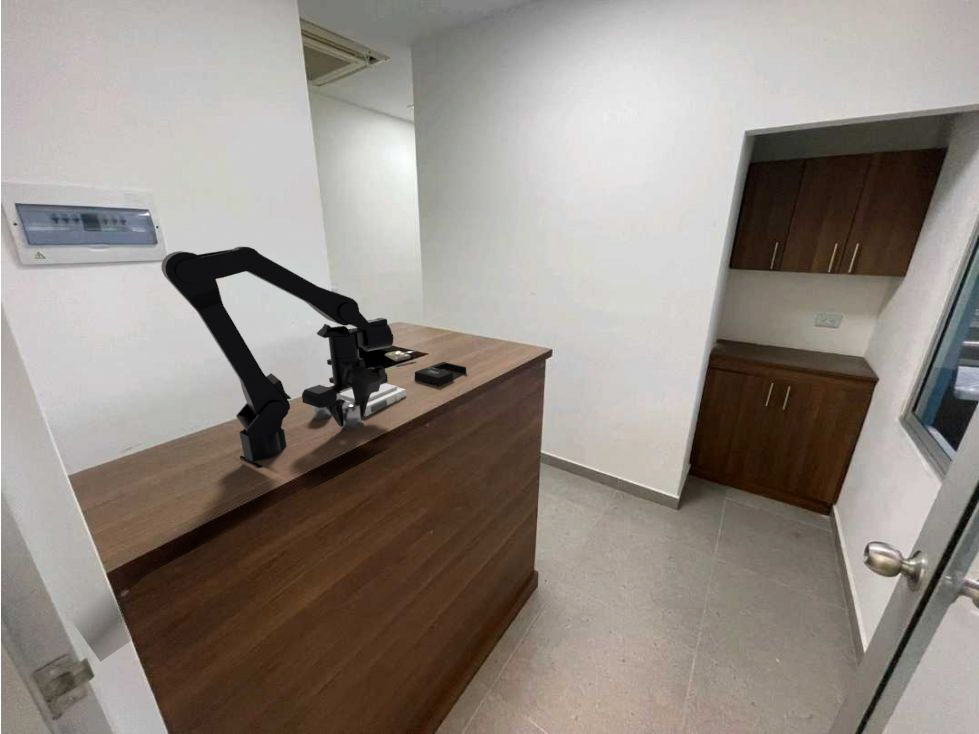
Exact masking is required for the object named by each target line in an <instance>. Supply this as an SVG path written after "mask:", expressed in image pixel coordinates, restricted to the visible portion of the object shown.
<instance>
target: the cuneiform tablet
mask: <svg viewBox="0 0 979 734" xmlns="http://www.w3.org/2000/svg"><path fill="white" fill-rule="evenodd" d="M416 352H417V351H416V350H410V351H409V350H408V351H405V352H404V351H403V352H402V351H400V350H396V351H390V352H386V353H385V354H384V356H385V357H387V358H389V359H390V360H392V361H394V362H400V361H404V360H409V359H411V357H412V356H411V355H410V354H411V353H416Z"/></svg>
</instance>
